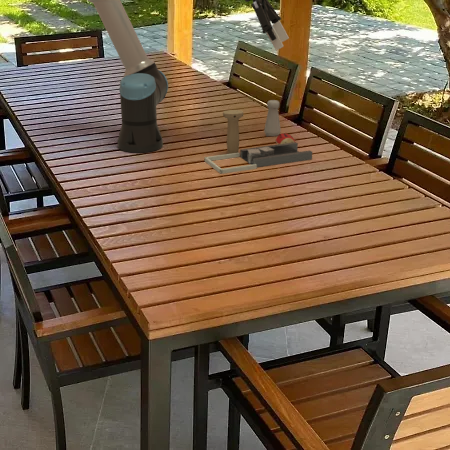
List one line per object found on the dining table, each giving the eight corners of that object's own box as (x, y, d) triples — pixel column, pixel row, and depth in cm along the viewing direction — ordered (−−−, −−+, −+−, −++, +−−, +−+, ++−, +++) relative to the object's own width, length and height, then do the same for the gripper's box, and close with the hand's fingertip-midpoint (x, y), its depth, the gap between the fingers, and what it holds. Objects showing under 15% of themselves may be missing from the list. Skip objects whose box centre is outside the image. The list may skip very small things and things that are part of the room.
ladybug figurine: (280, 150, 240) (280, 140, 238) (271, 142, 249) (271, 132, 247) (299, 149, 241) (299, 139, 240) (290, 140, 250) (290, 130, 249)
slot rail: (255, 170, 221) (255, 159, 219) (240, 160, 230) (240, 149, 229) (311, 162, 228) (312, 151, 227) (295, 152, 237) (295, 142, 236)
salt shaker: (275, 140, 249) (276, 103, 244) (261, 137, 252) (262, 101, 247) (283, 136, 254) (284, 100, 249) (268, 133, 257) (270, 97, 252)
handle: (244, 158, 231) (244, 113, 225) (224, 160, 230) (224, 114, 224) (240, 154, 235) (241, 109, 229) (221, 155, 234) (221, 110, 228)
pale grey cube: (249, 163, 224) (249, 153, 222) (247, 160, 227) (247, 149, 225) (260, 163, 224) (260, 152, 223) (258, 159, 227) (258, 149, 226)
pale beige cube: (264, 162, 225) (265, 151, 224) (258, 159, 228) (258, 148, 226) (273, 160, 227) (274, 149, 225) (267, 157, 230) (267, 146, 228)
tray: (220, 176, 215) (220, 170, 215) (204, 163, 226) (204, 157, 225) (256, 171, 220) (256, 164, 219) (238, 159, 231) (238, 152, 230)
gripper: (253, -16, 217) (287, 46, 223) (266, -26, 239) (297, 31, 245) (232, -3, 220) (267, 58, 225) (247, -14, 242) (278, 42, 247)
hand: (282, 44), depth 235 cm, fingers open, 13 cm apart
